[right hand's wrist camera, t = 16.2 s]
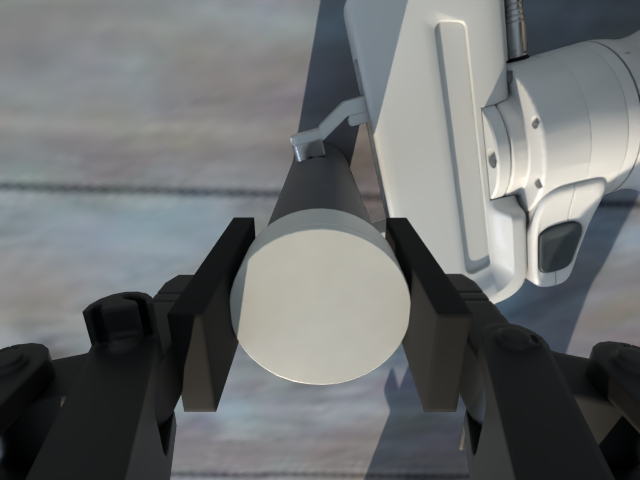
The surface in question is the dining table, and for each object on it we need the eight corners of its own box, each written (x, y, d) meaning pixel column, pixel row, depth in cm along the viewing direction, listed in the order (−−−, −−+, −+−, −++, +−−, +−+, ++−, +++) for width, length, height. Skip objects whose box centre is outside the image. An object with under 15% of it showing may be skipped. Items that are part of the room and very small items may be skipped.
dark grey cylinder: (353, 191, 30) (406, 347, 11) (299, 204, 30) (268, 373, 12) (342, 135, 28) (382, 214, 10) (285, 149, 28) (223, 249, 10)
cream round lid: (396, 198, 11) (409, 218, 9) (400, 340, 13) (413, 377, 11) (227, 216, 11) (210, 238, 9) (256, 353, 13) (246, 391, 11)
